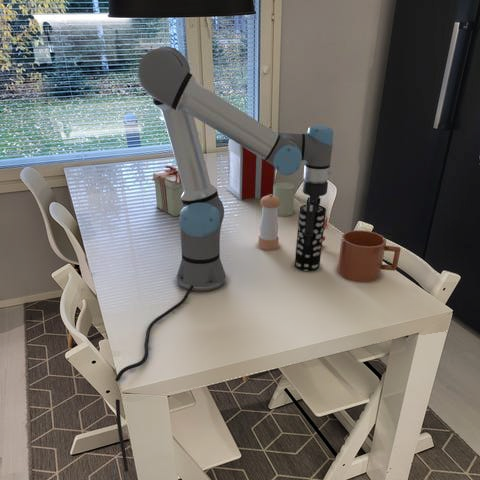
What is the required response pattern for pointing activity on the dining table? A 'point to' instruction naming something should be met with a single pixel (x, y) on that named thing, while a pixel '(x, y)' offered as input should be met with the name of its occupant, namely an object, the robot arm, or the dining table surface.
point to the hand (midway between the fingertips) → (308, 248)
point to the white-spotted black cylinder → (313, 260)
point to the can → (284, 197)
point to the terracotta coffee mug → (364, 256)
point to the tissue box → (248, 173)
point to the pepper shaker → (269, 223)
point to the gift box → (169, 190)
